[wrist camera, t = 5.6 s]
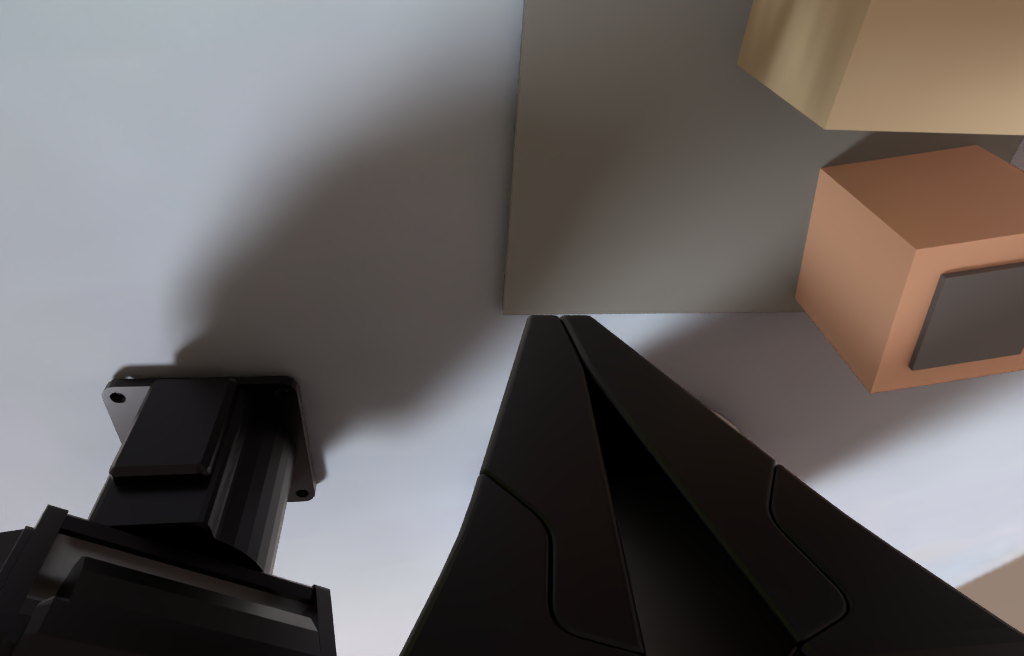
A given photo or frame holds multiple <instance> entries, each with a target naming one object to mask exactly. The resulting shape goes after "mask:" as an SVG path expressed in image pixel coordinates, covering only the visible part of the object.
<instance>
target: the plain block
mask: <svg viewBox="0 0 1024 656" xmlns="http://www.w3.org/2000/svg"><path fill="white" fill-rule="evenodd" d="M737 65H738V66H740V67H741V68H742V69H744V70H745V71H746V72H748V73H749V74H750V75H752V76H753V77H754V78H756V79H757V80H758V81H760V82H761V83H762V84H764V85H765V86H766V87H768V88H769V89H771V90H772V91H773V92H775V93H776V94H777V95H779V96H780V97H781V98H783V99H784V100H785V101H787V102H788V103H789V104H791V105H792V106H793V107H795V108H796V109H797V110H799V111H800V112H802V113H803V114H804V115H806V116H807V117H808V118H810V119H811V120H812V121H814V122H815V123H816V124H818V125H819V126H820V127H822V128H823V129H824V130H858V131H893V132H929V133H964V134H999V135H1024V0H753V4H752V7H751V11H750V15H749V19H748V23H747V26H746V30H745V34H744V38H743V42H742V46H741V49H740V53H739V57H738V61H737Z"/></svg>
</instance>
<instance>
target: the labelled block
mask: <svg viewBox="0 0 1024 656" xmlns="http://www.w3.org/2000/svg"><path fill="white" fill-rule="evenodd" d="M795 299H796V301H797V302H798V303H799V304H800V306H801V307H802V308H803V309H804V311H805V312H806V313H807V314H808V316H809V317H810V318H811V320H812V321H813V322H814V323H815V325H816V326H817V327H818V328H819V330H820V331H821V332H822V333H823V335H824V336H825V337H826V338H827V340H828V341H829V342H830V343H831V345H832V346H833V347H834V348H835V350H836V351H837V352H838V353H839V355H840V356H841V357H842V358H843V360H844V361H845V362H846V363H847V365H848V366H849V367H850V369H851V370H852V371H853V372H854V374H855V375H856V376H857V377H858V379H859V380H860V381H861V382H862V384H863V385H864V386H865V387H866V389H867V390H868V391H869V392H870V394H871V393H878V392H884V391H891V390H897V389H903V388H910V387H916V386H923V385H929V384H935V383H942V382H948V381H955V380H961V379H968V378H974V377H980V376H987V375H993V374H1000V373H1006V372H1013V371H1019V370H1024V171H1022V170H1020V169H1018V168H1017V167H1015V166H1013V165H1011V164H1010V163H1008V162H1006V161H1004V160H1003V159H1001V158H999V157H997V156H995V155H994V154H992V153H990V152H988V151H987V150H985V149H983V148H981V147H980V146H978V145H973V146H966V147H959V148H953V149H946V150H939V151H932V152H926V153H919V154H912V155H905V156H899V157H892V158H885V159H879V160H872V161H865V162H858V163H852V164H845V165H838V166H831V167H825V168H820V172H819V177H818V182H817V187H816V192H815V198H814V203H813V208H812V213H811V218H810V223H809V228H808V233H807V238H806V243H805V249H804V254H803V259H802V264H801V269H800V274H799V279H798V284H797V289H796V294H795Z"/></svg>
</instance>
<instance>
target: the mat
mask: <svg viewBox="0 0 1024 656" xmlns="http://www.w3.org/2000/svg"><path fill="white" fill-rule="evenodd" d="M752 4H753V0H524V8H523V22H522V36H521V50H520V64H519V79H518V93H517V107H516V121H515V136H514V150H513V164H512V178H511V193H510V207H509V221H508V235H507V249H506V264H505V278H504V292H503V306H502V309H503V315H534V314H640V313H747V312H805V311H804V309H803V308H802V307H801V306H800V304H799V303H798V302H797V301H796V299H795V294H796V289H797V284H798V279H799V274H800V269H801V264H802V259H803V254H804V249H805V243H806V238H807V233H808V228H809V223H810V218H811V213H812V208H813V203H814V198H815V192H816V187H817V182H818V177H819V172H820V168H825V167H831V166H838V165H845V164H852V163H858V162H865V161H872V160H879V159H885V158H892V157H899V156H905V155H912V154H919V153H926V152H932V151H939V150H946V149H953V148H959V147H966V146H973V145H978V146H980V147H981V148H983V149H985V150H987V151H988V152H990V153H992V154H994V155H995V156H997V157H999V158H1001V159H1003V160H1004V161H1006V162H1008V163H1010V161H1011V159H1012V157H1013V156H1014V154H1015V152H1016V150H1017V148H1018V147H1019V145H1020V143H1021V141H1022V139H1023V137H1024V135H999V134H964V133H929V132H893V131H858V130H824V129H823V128H822V127H820V126H819V125H818V124H816V123H815V122H814V121H812V120H811V119H810V118H808V117H807V116H806V115H804V114H803V113H802V112H800V111H799V110H797V109H796V108H795V107H793V106H792V105H791V104H789V103H788V102H787V101H785V100H784V99H783V98H781V97H780V96H779V95H777V94H776V93H775V92H773V91H772V90H771V89H769V88H768V87H766V86H765V85H764V84H762V83H761V82H760V81H758V80H757V79H756V78H754V77H753V76H752V75H750V74H749V73H748V72H746V71H745V70H744V69H742V68H741V67H740V66H738V65H737V61H738V57H739V53H740V49H741V46H742V42H743V38H744V34H745V30H746V26H747V23H748V19H749V15H750V11H751V7H752Z"/></svg>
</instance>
